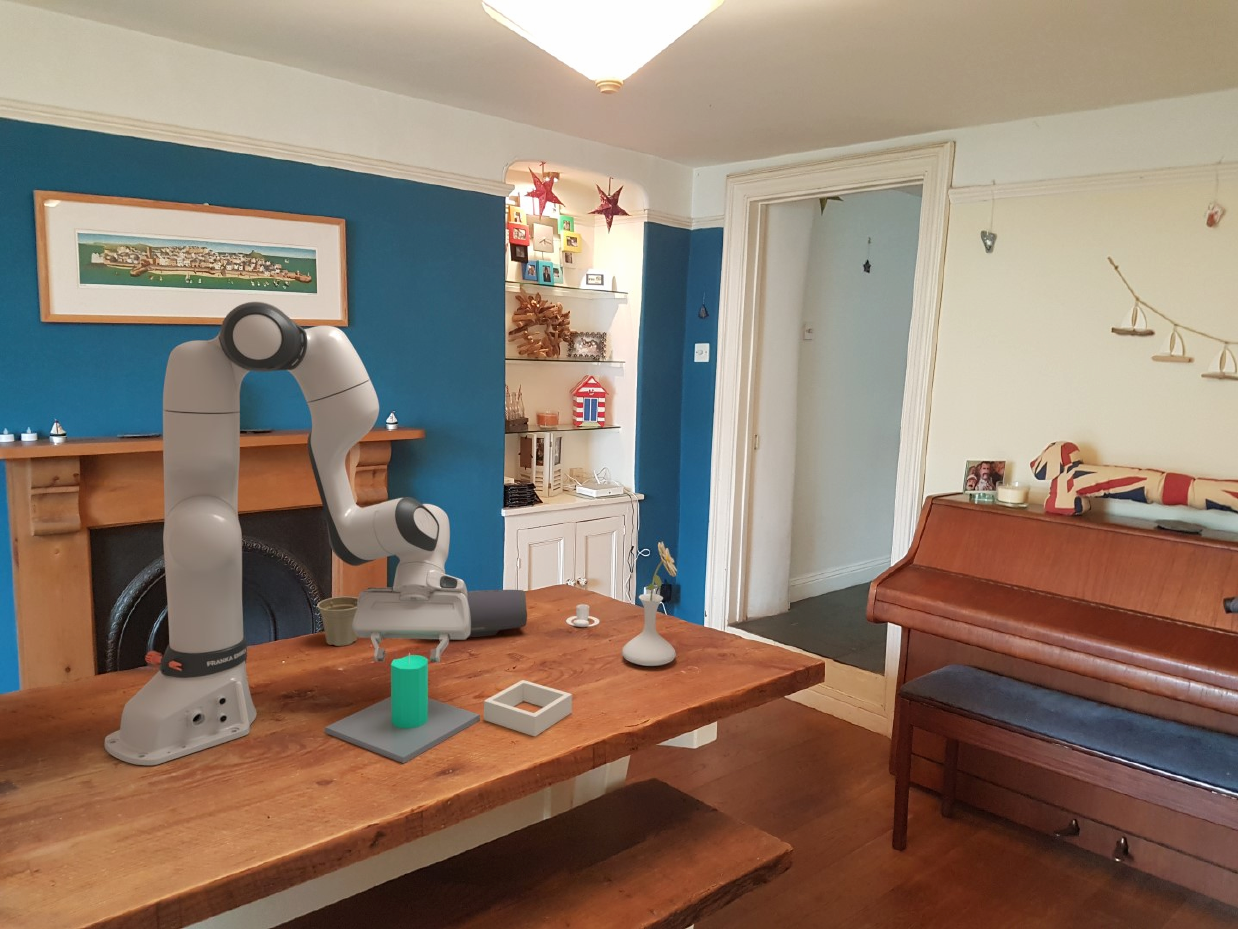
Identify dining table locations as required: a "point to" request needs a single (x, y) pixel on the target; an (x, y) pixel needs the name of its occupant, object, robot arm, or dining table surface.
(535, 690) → the square frame
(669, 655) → the flower in vase
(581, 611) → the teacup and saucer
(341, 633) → the flower pot
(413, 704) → the candle
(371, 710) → the slate tile
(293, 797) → the dining table surface
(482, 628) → the bluetooth speaker
